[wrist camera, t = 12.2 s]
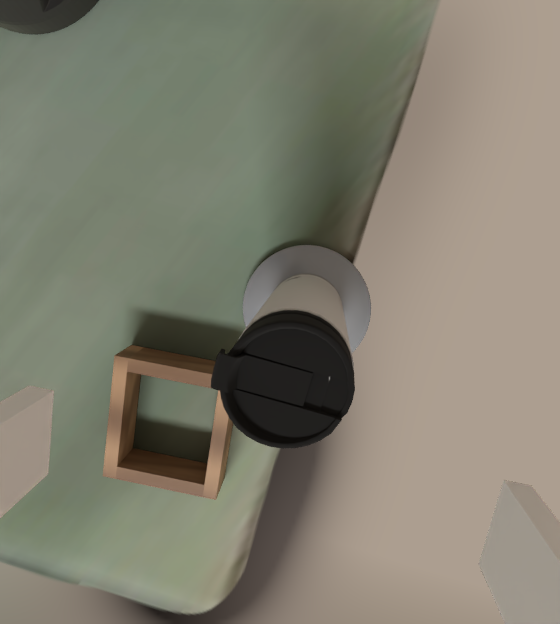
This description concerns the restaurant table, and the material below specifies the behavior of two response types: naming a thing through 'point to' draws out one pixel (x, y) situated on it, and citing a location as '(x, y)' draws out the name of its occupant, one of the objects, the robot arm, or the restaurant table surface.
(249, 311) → the grey round disc
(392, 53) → the restaurant table surface
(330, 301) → the travel mug
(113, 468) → the brown open square frame
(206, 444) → the restaurant table surface
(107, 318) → the restaurant table surface
